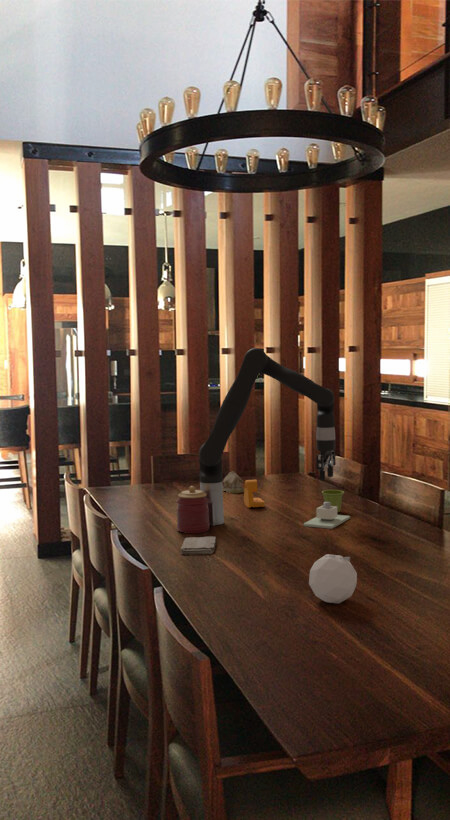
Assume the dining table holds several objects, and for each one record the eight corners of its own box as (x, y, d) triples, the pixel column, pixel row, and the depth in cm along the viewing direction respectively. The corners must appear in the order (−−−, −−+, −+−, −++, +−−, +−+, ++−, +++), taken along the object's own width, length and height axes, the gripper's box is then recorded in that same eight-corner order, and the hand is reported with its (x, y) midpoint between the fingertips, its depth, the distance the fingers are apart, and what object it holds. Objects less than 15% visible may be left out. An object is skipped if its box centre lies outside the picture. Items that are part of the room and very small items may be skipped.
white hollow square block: (331, 519, 305) (331, 509, 304) (316, 518, 308) (316, 508, 308) (337, 516, 310) (337, 506, 310) (322, 514, 313) (322, 505, 313)
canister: (205, 534, 294) (204, 489, 293) (173, 533, 297) (171, 488, 296) (213, 526, 307) (211, 483, 306) (181, 526, 310) (180, 482, 308)
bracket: (265, 508, 340) (264, 481, 339) (249, 509, 339) (248, 482, 338) (259, 503, 351) (258, 477, 350) (244, 504, 349) (243, 478, 348)
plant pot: (343, 509, 332) (343, 489, 332) (344, 514, 323) (344, 493, 322) (321, 509, 333) (321, 489, 333) (322, 514, 324) (322, 494, 323)
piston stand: (331, 528, 298) (331, 508, 297) (303, 526, 304) (303, 506, 303) (350, 518, 315) (349, 499, 314) (322, 515, 321) (322, 496, 320)
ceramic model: (217, 490, 387) (217, 470, 386) (237, 487, 392) (236, 468, 391) (230, 494, 374) (229, 474, 374) (250, 492, 379) (249, 472, 378)
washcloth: (180, 556, 266) (180, 547, 266) (184, 543, 284) (183, 535, 284) (214, 555, 266) (214, 546, 265) (216, 542, 284) (215, 534, 283)
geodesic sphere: (364, 572, 220) (335, 536, 219) (375, 587, 206) (344, 548, 205) (325, 603, 220) (296, 567, 219) (334, 620, 207) (302, 582, 206)
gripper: (327, 440, 298) (328, 481, 300) (341, 436, 311) (341, 476, 312) (310, 440, 302) (310, 480, 303) (323, 436, 314) (324, 475, 316)
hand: (326, 478), depth 308 cm, fingers open, 8 cm apart
